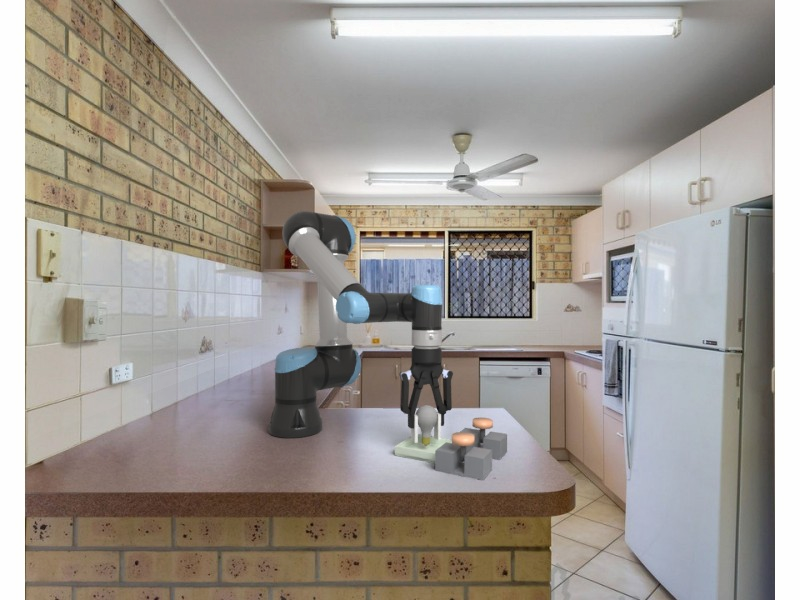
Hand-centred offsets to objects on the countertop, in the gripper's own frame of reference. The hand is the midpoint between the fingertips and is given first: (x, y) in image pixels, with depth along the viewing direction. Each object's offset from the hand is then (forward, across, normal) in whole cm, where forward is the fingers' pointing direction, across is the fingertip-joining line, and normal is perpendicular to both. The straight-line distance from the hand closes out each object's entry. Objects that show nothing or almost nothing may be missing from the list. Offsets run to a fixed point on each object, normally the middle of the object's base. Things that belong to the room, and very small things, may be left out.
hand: (426, 439), depth 110 cm
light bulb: (+2, 0, 0) cm, 2 cm away
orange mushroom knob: (+1, +14, -4) cm, 14 cm away
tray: (+3, 0, 0) cm, 3 cm away
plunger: (+1, +4, -14) cm, 14 cm away
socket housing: (+3, +9, -9) cm, 13 cm away
